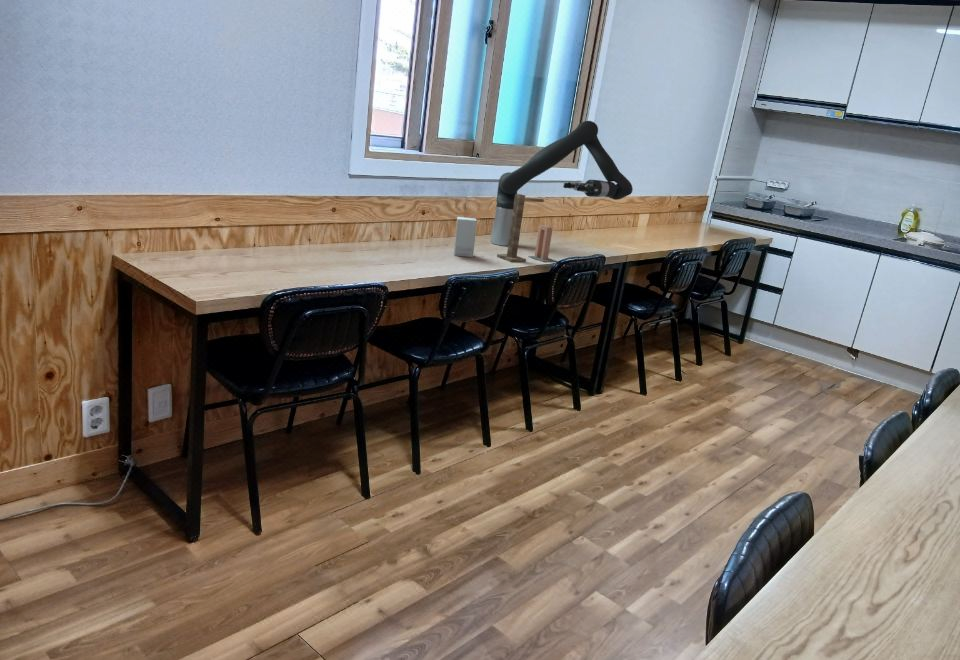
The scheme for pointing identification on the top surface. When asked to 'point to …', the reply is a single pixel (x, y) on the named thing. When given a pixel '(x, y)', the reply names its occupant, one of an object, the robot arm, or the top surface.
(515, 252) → the stand
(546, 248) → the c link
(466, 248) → the skincare box
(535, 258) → the mat
